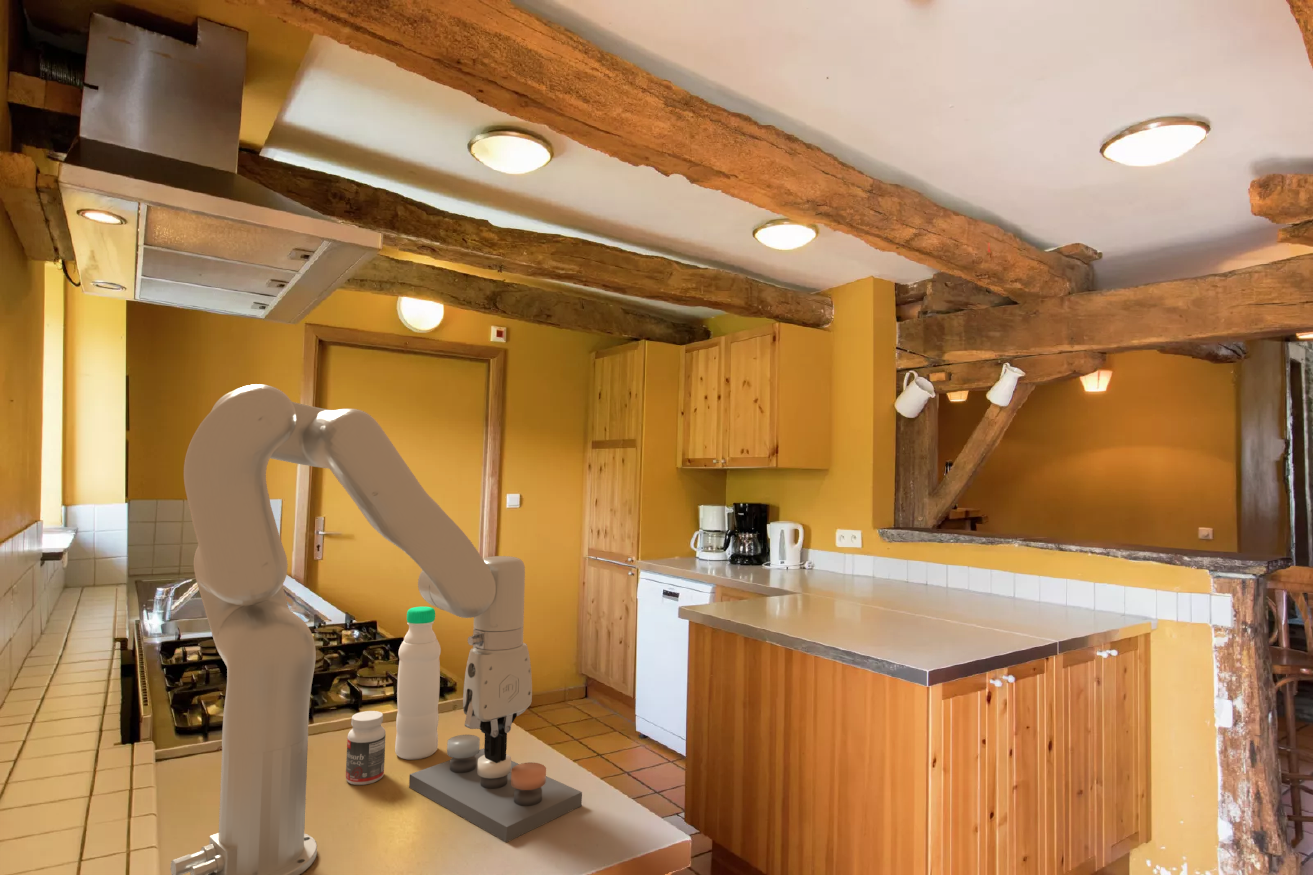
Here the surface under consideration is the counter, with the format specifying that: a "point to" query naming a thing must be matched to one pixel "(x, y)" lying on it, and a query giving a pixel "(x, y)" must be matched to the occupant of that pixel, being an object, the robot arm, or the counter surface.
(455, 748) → the bluegrey button
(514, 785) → the terracotta button
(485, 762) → the white button
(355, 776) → the pill bottle
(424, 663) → the water bottle
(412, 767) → the counter surface
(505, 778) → the button panel
